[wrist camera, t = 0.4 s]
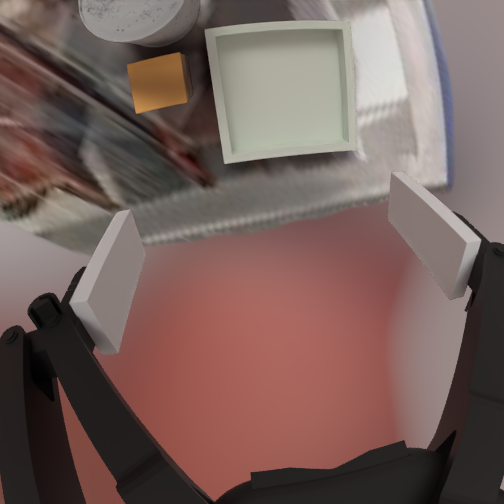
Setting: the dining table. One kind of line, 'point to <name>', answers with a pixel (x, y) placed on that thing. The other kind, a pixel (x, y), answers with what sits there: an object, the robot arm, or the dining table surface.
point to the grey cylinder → (140, 20)
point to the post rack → (160, 82)
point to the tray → (283, 88)
